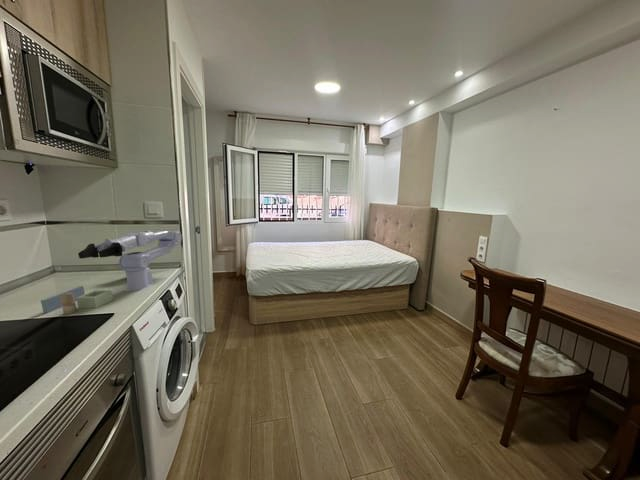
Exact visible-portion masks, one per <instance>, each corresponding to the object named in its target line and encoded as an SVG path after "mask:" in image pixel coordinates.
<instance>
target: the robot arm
mask: <svg viewBox="0 0 640 480" xmlns="http://www.w3.org/2000/svg"><path fill="white" fill-rule="evenodd" d="M156 240H158V242H157V243H158V244H157V246H155V247H152V248H150V249H147V250H143V251H140V252H141V253H138V254H131V255H124V254H123V253H124V252H127V251H129V250H131V249H134V248H137V247H146V245H148V244H153V243H154V242H156ZM181 243H182V233H181V232H180V231H178V230H177V231H175V230H174V231H172V230H170V231H167V230H163V231H162V230H161V231H155V232H152V231H150V230H148V229H145V230H144V231H143V232H141V231H136V233H126V234H125V236H122V237H117V238H115V239H111V238H109V237H108V238H104V242H101V243H99V244H98V245H96V244H95V243H88V245H87V246H86V247H85V248H84V249H82V250H81V251H79V252H78V257H79V259H89V258H94V259H96V258H108V257H119V259H118V265H119V267H120V269H122V270H123V272H125V278H126V283H127V288H124V289H123V291H124V292H127V291H128V292H131V291H132V292H140V291H142V290H144V289H147V288H148V287H151V286H152V285H153V286H154V285H155V284H156V283H155V282H154V281H153V274H152V270H151V269H150V268H149V267H148V266H149V265H150V264H152V261H153V260H156V259H158V258H160V257H163V256H165V255H168V254H170V253H171V252H172V251H173V250H174V249H175V247H177V246H178V245H180V244H181Z"/></svg>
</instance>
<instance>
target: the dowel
mask: <svg viewBox="0 0 640 480" xmlns="http://www.w3.org/2000/svg"><path fill="white" fill-rule="evenodd" d="M60 300H61V304H62V307H61V308H62V312H63V315H64V316H69V315H74V314H76V313H77V312H78V310H77V306H76V301H75V300H74V295H73V293H66V294H62V295H60Z"/></svg>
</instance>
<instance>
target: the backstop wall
mask: <svg viewBox="0 0 640 480" xmlns="http://www.w3.org/2000/svg"><path fill="white" fill-rule="evenodd" d="M84 289H85V288H84V285H78V286H75V287H73V288H70V289H67V290H64V291H61V292H59V293H56V294H53V295H51V296H49V297H46V298H44V299H43V298H42V299H40V304H41V308H42V312H43V314H49V313H52V312H53V311H56V310H58V309H61V308H62V304H61V300H60V295H62V294H66V293H73V295H74V300H75V302H77V299H76V298H77V297H79V296H82V295H84V294H86V293H85V290H84Z"/></svg>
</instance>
